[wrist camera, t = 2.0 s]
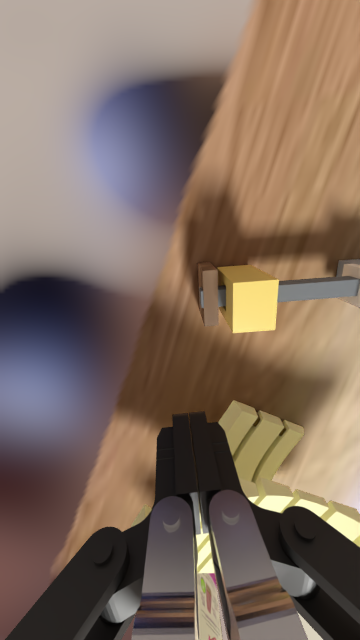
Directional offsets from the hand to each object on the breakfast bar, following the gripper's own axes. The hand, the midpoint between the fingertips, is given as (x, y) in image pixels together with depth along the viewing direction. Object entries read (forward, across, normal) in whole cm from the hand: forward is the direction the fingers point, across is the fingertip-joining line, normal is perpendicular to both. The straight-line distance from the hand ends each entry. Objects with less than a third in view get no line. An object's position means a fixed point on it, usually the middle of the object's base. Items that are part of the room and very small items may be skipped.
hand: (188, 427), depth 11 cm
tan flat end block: (+21, -4, -1) cm, 21 cm away
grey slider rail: (+17, -13, -1) cm, 21 cm away
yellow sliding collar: (+21, -8, -1) cm, 22 cm away
